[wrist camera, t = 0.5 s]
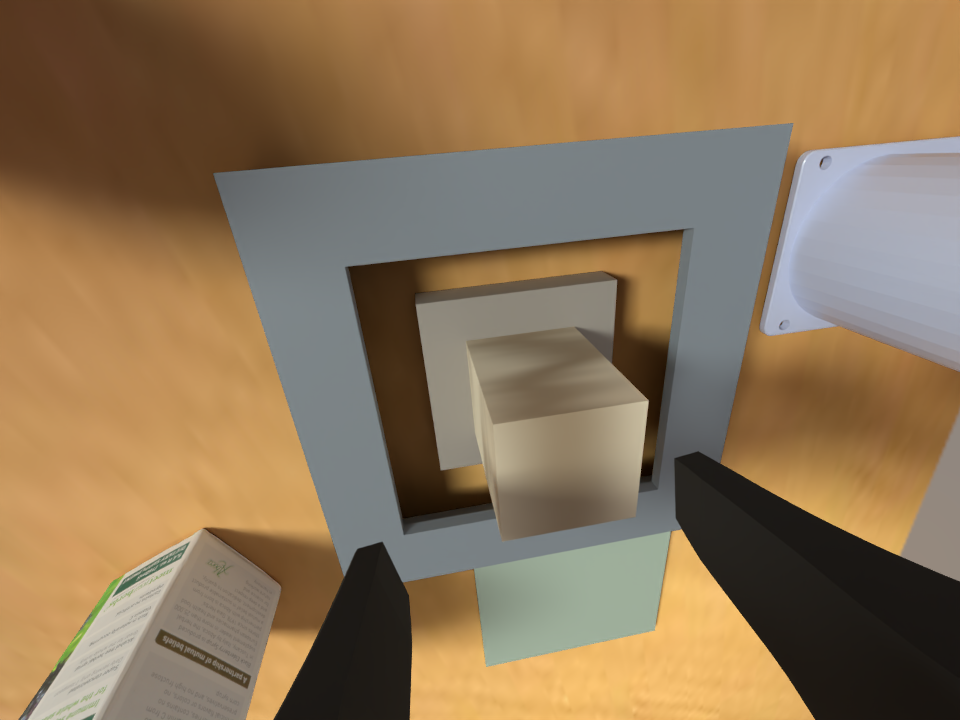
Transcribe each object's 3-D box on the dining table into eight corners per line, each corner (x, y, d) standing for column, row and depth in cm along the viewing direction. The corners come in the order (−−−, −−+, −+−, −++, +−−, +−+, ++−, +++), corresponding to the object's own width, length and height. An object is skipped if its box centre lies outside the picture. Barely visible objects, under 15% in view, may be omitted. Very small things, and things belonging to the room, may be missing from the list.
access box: (730, 129, 16) (793, 123, 14) (673, 484, 24) (706, 524, 22) (248, 171, 15) (212, 172, 12) (356, 541, 22) (349, 592, 20)
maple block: (573, 326, 17) (648, 400, 12) (572, 417, 19) (635, 516, 14) (465, 340, 17) (492, 424, 11) (475, 433, 19) (502, 541, 13)
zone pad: (667, 522, 26) (671, 527, 25) (651, 624, 30) (654, 630, 30) (472, 559, 24) (473, 565, 24) (485, 660, 29) (486, 666, 28)
